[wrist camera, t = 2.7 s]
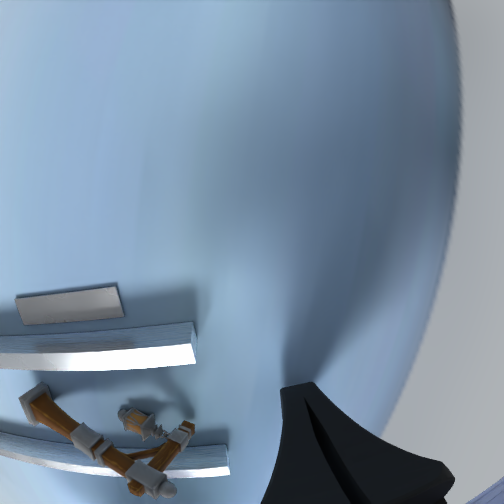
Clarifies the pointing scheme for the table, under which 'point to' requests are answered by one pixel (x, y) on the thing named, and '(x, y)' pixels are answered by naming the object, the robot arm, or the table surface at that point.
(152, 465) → the wooden post with brackets
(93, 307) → the guide rail
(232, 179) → the table surface
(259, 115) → the table surface
